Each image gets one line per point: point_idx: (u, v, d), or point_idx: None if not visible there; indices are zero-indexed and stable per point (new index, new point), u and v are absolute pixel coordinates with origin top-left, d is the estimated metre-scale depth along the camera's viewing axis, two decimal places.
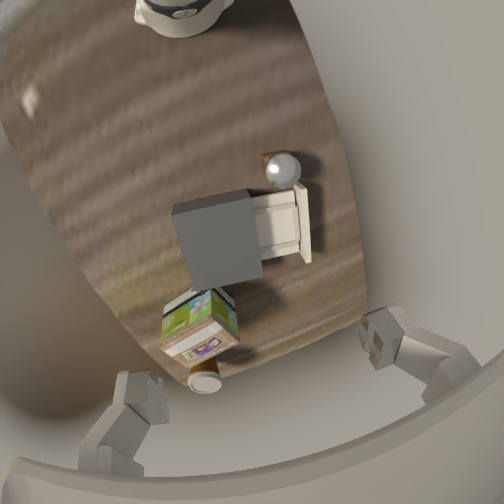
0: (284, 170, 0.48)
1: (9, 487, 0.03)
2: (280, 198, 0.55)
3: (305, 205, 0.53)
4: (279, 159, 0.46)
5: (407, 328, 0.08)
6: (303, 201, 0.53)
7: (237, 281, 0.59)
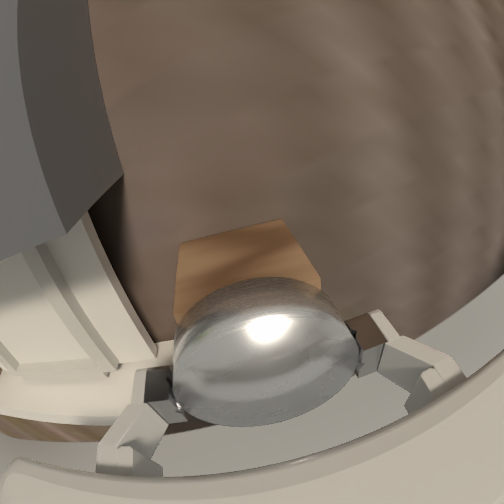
0: (277, 387, 0.09)
1: (9, 487, 0.03)
2: (113, 325, 0.12)
3: None
4: (339, 358, 0.08)
5: (389, 336, 0.08)
6: None
7: None
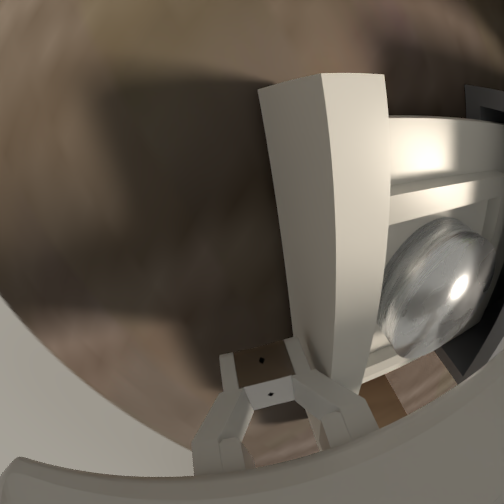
0: (449, 310, 0.09)
1: (9, 487, 0.03)
2: None
3: None
4: (446, 336, 0.11)
5: (299, 368, 0.08)
6: None
7: None
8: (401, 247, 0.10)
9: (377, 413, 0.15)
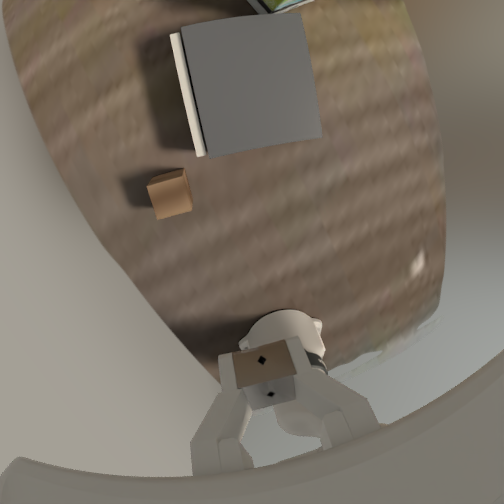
0: None
1: (9, 487, 0.03)
2: None
3: (195, 130, 0.31)
4: None
5: (300, 368, 0.08)
6: (200, 137, 0.32)
7: (228, 20, 0.24)
8: None
9: (169, 177, 0.35)
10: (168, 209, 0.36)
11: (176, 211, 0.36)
